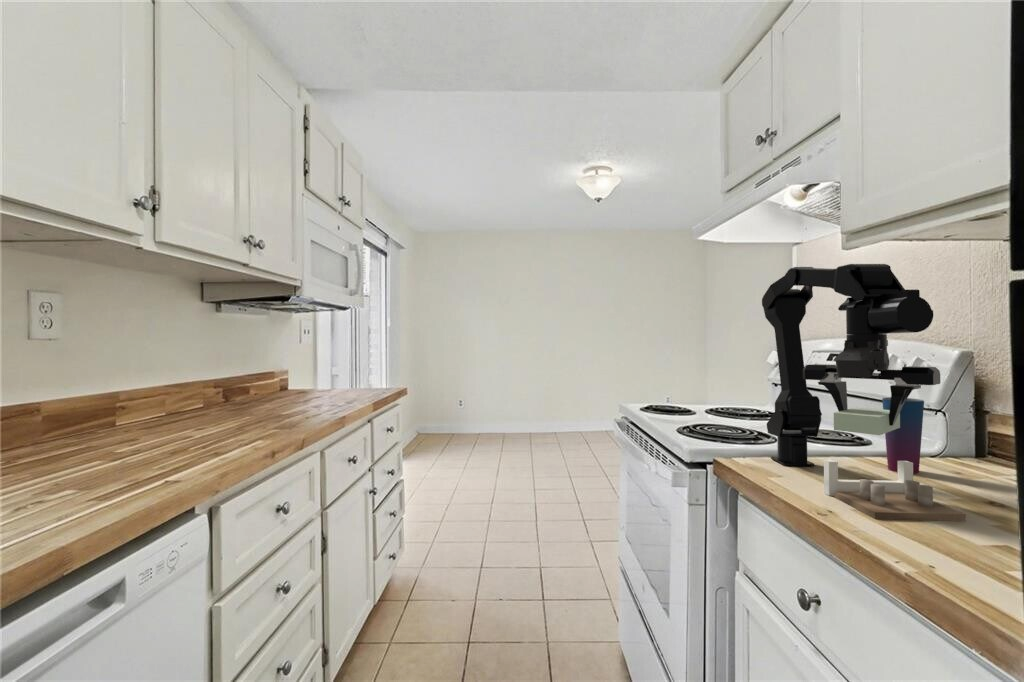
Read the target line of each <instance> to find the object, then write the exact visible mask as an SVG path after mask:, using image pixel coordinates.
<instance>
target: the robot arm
mask: <svg viewBox="0 0 1024 682" xmlns="http://www.w3.org/2000/svg"><path fill="white" fill-rule="evenodd" d="M795 286H796V287H797V286H802V288H801V289H799V288H793V287H795ZM813 287H819V288H826V289H827V288H828V289H829V288H830V289H832V290H833V292H835V293H837V294H839V295H843V296H845V297H847V298H846V299H845V301H843V303H841V304H840V305H839V306H838V309H837V310H838V311H840V312H841V311H842V312H845V311H846V312H845V315H846V316H845V319H846V321H845V323H846V324H845V326H846V340H844V342H843V343H844V344H843V345H844V348H843V349H842V351H841V352H840V353H839V354H838V355H837V356H836V357H835V358H834V360H835V364H824V363H823V364H822V363H820V364H819V363H817V364H816V363H813V364H806V365H805V363H804V354H803V348H802V347H803V345H802V339H801V330H800V329H801V328H800V325H801V323H802V322H803V319H804V317H805V316H806V314H807V305H808V304H809V302H811V300H812V299H813V298H814V297H813V296H814V292H813ZM761 305H762V308H763V313H764V316H765V317H764V318H765V319H766V320H767V322H768V323H769V324H770V325H771V326H772V327H773V329H774V337H775V344H776V353H777V354H776V355H777V363H778V371H779V380H780V388H781V389H780V393H779V394H778V396H777V398H776V399H775V401H774V412H773V414H772V415H771V417H770V418H769V420H768V421H767V422H766V429H767V433H768V434H769V435H773V436H775V437H777V439H776V440H777V447H776V448H777V456H774V455H773V456H770V459H771V460H773V461H775V462H777V463H778V464H781V465H783V466H793V467H794V466H795V467H796V466H798V467H800V466H803V467H810V466H811V467H814V466H815V465H816V464H815V462H812V461H809V460H808V437H813V438H817V437H818V433H819V430H820V426H821V423H822V416H823V413H822V411H821V405H820V404H821V403H820V401H821V400H820V398H819V397H818V396H816V395H814V396H813V395H812V393H811V392H810V391H809V390H808V386H807V380H809V381H818V382H817V384H818V385H819V386H824V387H825V388H826V389H827V391H828V392H829V394H830V395H831V397H832V399H833V401H834V403H835V406H836V409H837V412H839V411H843V410H847V409H849V408H848V392H847V391H848V390H847V389H848V388H847V381H845V380H844V381H843V380H842V379H862V380H864V379H865V380H866V379H867V380H887V381H894V383H895V384H893V385H890V386H889V387H890V397H891V403H890V412H889V424H890V426H893V425H894V424H895V422H896V420H897V417H898V415H899V413H900V411H901V409H902V406H903V404H904V402H905V401H906V399H907V398H909V396H910V395H911V393H912V391H914V390H918V389H922V388H921V387H922V386H935V385H941V371H940V370H939V369H938V367H935V366H912V365H911V366H902V368H901V369H889V366H890V358H889V357H890V356H889V354H888V346H889V340H888V334H909V333H911V334H912V333H920V332H923V331H925V330H926V329H928V328H929V327H930V326H931V324H932V321H933V319H934V310H933V309H932V307H931V305H930V304H929V302H928V301H927V300H926V299H925V298H923V297H921V296H920V289H905V287H904V286H903V285H902V283H901V282H900V281H899V279H898V277H897V276H896V275H895V273H894V272H893V271H892V269H891V266H890V265H889V264H886V263H849V264H844V265H840V266H837V267H836V268H820V267H819V268H818V267H817V268H816V267H813V266H794V267H791V268H789V269H788V270H787V271H786V272H785V274H784V275H783V276H781V277H780V278H779V279H777V280H776V281H773V283H771V284H770V285H769V286H768V288H767V290H766V291H765V293H763V296H762V298H761Z"/></svg>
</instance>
